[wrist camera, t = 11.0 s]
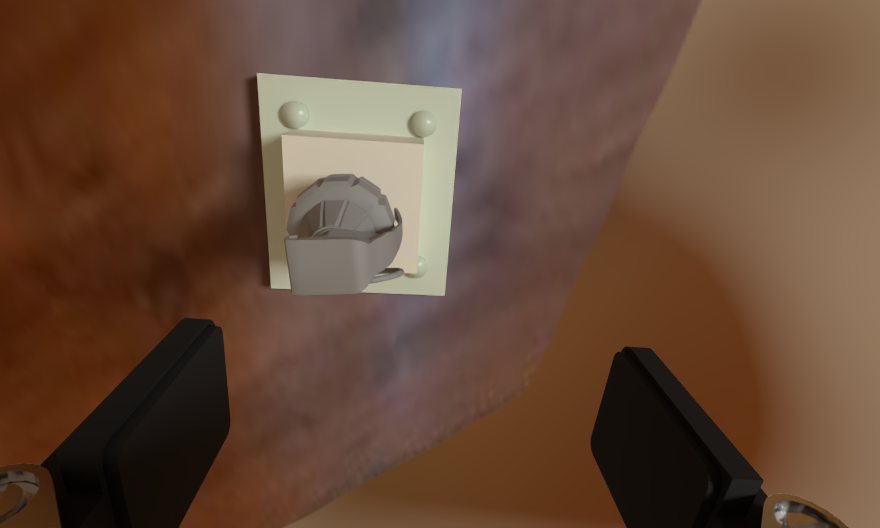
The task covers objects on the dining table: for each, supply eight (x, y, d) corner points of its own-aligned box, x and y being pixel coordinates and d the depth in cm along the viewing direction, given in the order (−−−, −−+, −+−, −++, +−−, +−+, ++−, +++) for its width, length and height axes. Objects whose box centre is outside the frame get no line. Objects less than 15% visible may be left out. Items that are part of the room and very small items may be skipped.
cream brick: (296, 129, 32) (281, 134, 29) (423, 137, 33) (424, 144, 29) (301, 248, 36) (288, 267, 32) (416, 254, 36) (416, 273, 33)
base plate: (263, 73, 32) (255, 72, 31) (459, 88, 33) (462, 88, 32) (276, 280, 38) (269, 290, 36) (443, 288, 39) (445, 297, 37)
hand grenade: (313, 249, 32) (264, 328, 21) (302, 164, 29) (243, 205, 19) (407, 247, 32) (404, 323, 22) (404, 162, 30) (399, 202, 20)
